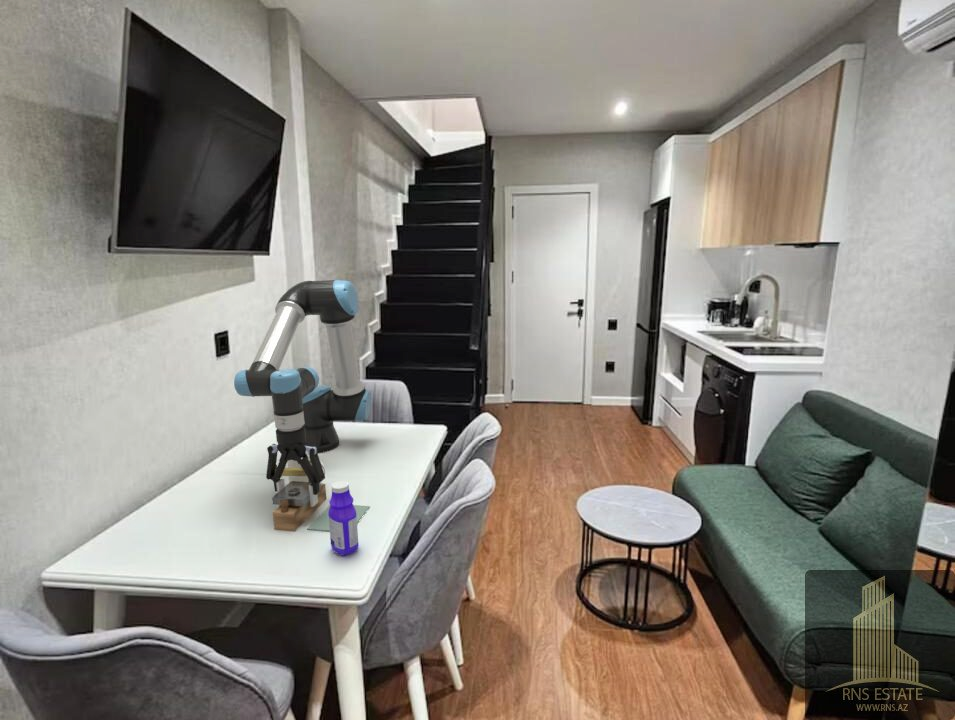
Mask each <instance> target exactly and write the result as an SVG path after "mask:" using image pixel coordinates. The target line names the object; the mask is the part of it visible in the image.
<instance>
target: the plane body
mask: <svg viewBox="0 0 955 720" xmlns="http://www.w3.org/2000/svg"><path fill="white" fill-rule="evenodd" d="M308 481H309V482H310V480H309V479H308ZM320 483H321V490H320V491H319V493H318V494H317V497H318V503H317V504H316V505H315V506H314V507H311V504H310V501H309V502H308V503H307V504H306V505H305V506H304V507H302V506H289V505H288V502H287V499H283V500H281V501H280V505H279V506H278V507H277V508H275V509H274V510H273V511H272V519H273V530H276V531H289V532H296V531H297V530H298V529H299V528H300V526H301V525H303V524H304V523H305V522H306V521H307V519H309V518H310V517H311V516H312V515H313V514H314V512H316V511H317V510H318V508H320V507H321V505H322V504H323V503H324V502H326V500H327V490H326V488H327V487H326V483H322V482H320Z"/></svg>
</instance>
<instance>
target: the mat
mask: <svg viewBox="0 0 955 720" xmlns="http://www.w3.org/2000/svg"><path fill="white" fill-rule="evenodd" d="M353 505H354V507H355V510H356V516H357V524H359V523H360V521H361V520H362V518H363V517H364V516H365V514H367V512H368V511H369V510H370V508H371V506H370V505H359V504H357V505H356V504H353ZM329 508H330V504H329V505H328V506H327V507H326V508H325V509H324V511H322V512H321V513H320V514H319V516H318V517H317V518H316V519H315V520H313V522H312V523H311V524H310V525H309V526H308V527H307V531H315V532H329V533H330V526H329V515H328V512H329ZM367 510H368V511H367ZM366 511H367V512H366ZM363 515H364V516H363ZM362 516H363V517H362ZM360 519H361V520H360ZM359 520H360V521H359Z"/></svg>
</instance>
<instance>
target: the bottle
mask: <svg viewBox="0 0 955 720" xmlns="http://www.w3.org/2000/svg"><path fill="white" fill-rule="evenodd" d="M354 500H355V499H354V497H353V496H352V494H351V491H350V484H349V482H348V481H346V480H338V481H336V482H334V483H332V484H331V497H330V499H329V502H328V503H329V505H330V508H329V512H328V515H329V526H330V532H329V536H330V537H329V539H330V546H331V548H332V550H333V552H335V553H336V554H338V555H341V556H348V555H350V554H352V553H355V552H356V551H357V550H358V548H359V534H358V533H359V532H358V530H359V529H358V523H357V516H356V510H355V507H354V505H355V504H354Z"/></svg>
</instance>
